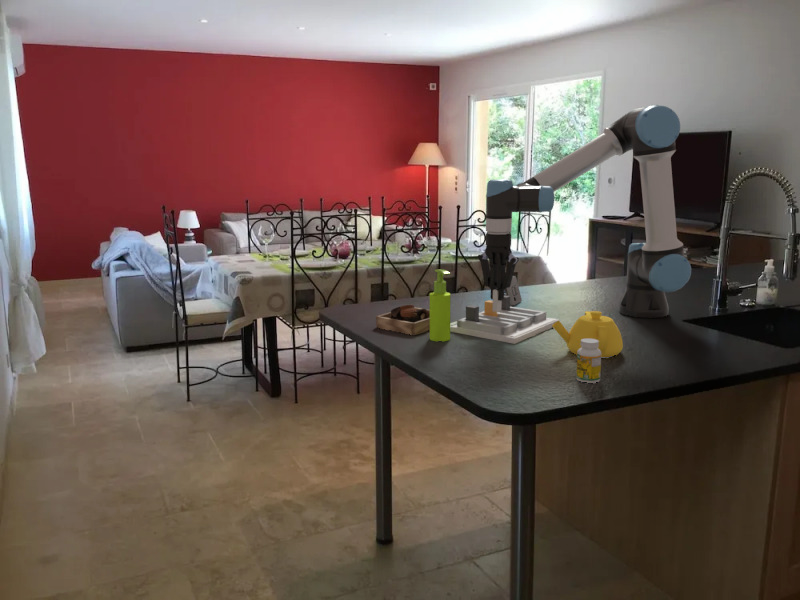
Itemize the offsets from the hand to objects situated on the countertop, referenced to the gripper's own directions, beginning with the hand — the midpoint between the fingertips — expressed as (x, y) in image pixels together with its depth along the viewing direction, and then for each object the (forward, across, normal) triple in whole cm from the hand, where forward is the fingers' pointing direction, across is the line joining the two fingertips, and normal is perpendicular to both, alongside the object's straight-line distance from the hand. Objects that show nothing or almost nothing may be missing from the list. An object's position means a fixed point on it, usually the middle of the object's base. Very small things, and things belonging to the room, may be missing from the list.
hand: (496, 310), depth 209 cm
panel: (+5, -2, 0) cm, 5 cm away
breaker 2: (+3, +3, -9) cm, 10 cm away
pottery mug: (+5, +20, +17) cm, 27 cm away
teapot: (+5, -33, +9) cm, 35 cm away
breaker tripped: (+3, +2, 0) cm, 4 cm away
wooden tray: (+5, +21, +15) cm, 26 cm away
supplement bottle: (+5, -43, +30) cm, 53 cm away
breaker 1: (+3, +3, +9) cm, 10 cm away
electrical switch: (+5, +13, -30) cm, 33 cm away
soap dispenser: (+5, +5, +22) cm, 23 cm away
